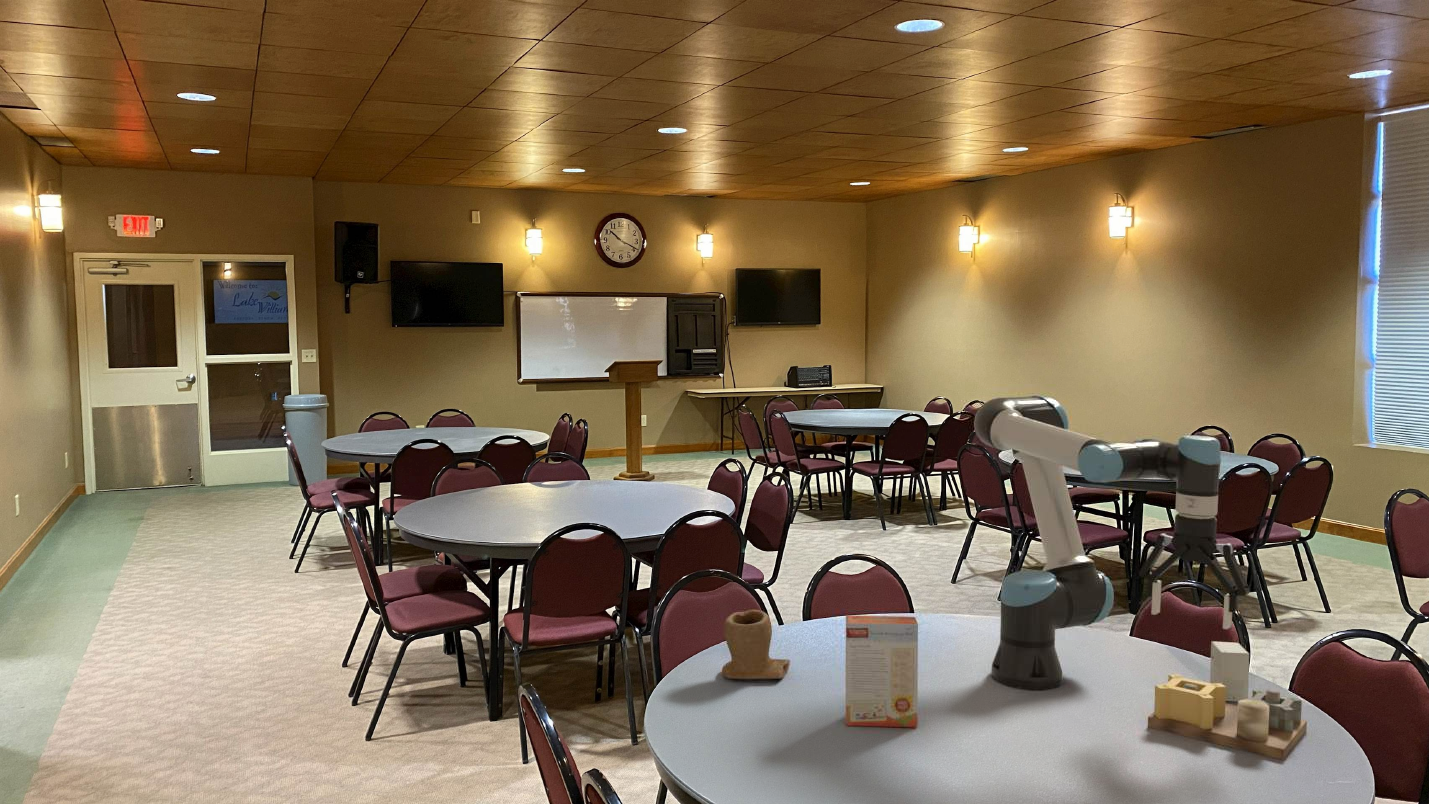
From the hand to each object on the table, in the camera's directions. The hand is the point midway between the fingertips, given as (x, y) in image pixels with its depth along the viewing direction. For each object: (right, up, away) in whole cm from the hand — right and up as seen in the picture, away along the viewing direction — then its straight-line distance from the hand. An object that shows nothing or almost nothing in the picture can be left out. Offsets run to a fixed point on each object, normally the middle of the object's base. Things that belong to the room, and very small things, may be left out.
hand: (1190, 620), depth 208 cm
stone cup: (-85, -18, +26) cm, 91 cm away
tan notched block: (-1, -18, -2) cm, 18 cm away
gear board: (+5, -20, -4) cm, 21 cm away
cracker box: (-62, -20, 0) cm, 65 cm away
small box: (+15, -19, +15) cm, 28 cm away
